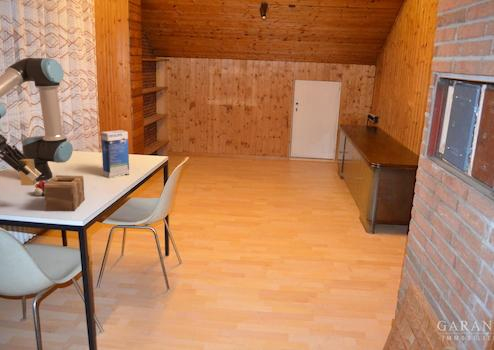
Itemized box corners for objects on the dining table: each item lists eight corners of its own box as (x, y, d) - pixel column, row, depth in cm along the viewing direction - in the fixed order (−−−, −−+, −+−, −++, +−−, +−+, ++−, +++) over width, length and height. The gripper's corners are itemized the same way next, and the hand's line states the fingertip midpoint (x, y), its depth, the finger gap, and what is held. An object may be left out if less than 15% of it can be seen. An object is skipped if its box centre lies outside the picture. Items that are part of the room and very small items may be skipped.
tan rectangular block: (24, 183, 188) (21, 158, 185) (36, 183, 188) (33, 159, 185) (21, 185, 184) (18, 160, 181) (33, 185, 185) (30, 161, 182)
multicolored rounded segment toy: (39, 191, 211) (37, 177, 209) (59, 192, 212) (58, 178, 210) (32, 196, 203) (30, 182, 201) (52, 197, 204) (51, 182, 202)
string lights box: (123, 172, 254) (121, 129, 248) (130, 174, 249) (128, 131, 243) (102, 175, 245) (100, 131, 238) (109, 178, 240) (107, 133, 233)
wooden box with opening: (58, 199, 200) (56, 175, 197) (84, 200, 201) (83, 175, 198) (45, 211, 185) (43, 184, 182) (74, 211, 186) (72, 185, 183)
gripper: (-4, 141, 188) (38, 177, 194) (-23, 149, 172) (23, 188, 178) (7, 130, 187) (49, 166, 193) (-12, 137, 171) (35, 176, 177)
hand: (37, 177), depth 186 cm, fingers closed on tan rectangular block, 3 cm apart
